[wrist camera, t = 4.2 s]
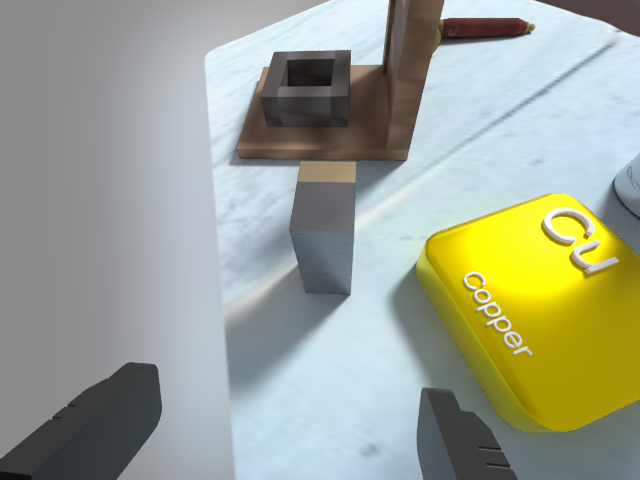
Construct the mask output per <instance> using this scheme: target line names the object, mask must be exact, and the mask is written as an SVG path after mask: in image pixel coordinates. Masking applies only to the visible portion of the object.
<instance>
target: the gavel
mask: <svg viewBox="0 0 640 480" xmlns="http://www.w3.org/2000/svg"><path fill="white" fill-rule="evenodd" d="M534 29H535V25H534V24H529V22H525V21H523V20H521V19H519V18H448V19H443V20H440V21H439V25H438V30H437V34H436V38H435V42H434V47H433V51H432V54H433V53H434V52H435V51H436V49H437V48H438V46H439V44H440V40H441V36H442V37H508V36H517V35H520V34H525V33H526V32H527V31H529V32H531V31H533V30H534Z"/></svg>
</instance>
